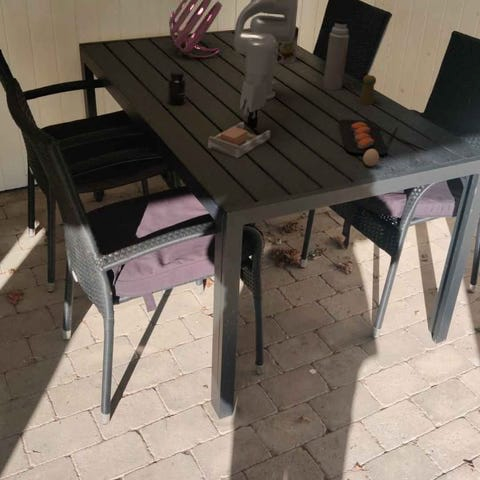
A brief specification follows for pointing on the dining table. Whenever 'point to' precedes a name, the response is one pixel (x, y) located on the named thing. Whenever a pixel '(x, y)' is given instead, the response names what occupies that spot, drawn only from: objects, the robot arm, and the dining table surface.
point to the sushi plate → (365, 137)
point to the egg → (371, 157)
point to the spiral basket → (189, 26)
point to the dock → (242, 147)
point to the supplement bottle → (176, 88)
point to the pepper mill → (367, 90)
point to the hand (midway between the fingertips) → (252, 127)
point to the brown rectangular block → (234, 136)
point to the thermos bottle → (336, 55)
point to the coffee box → (286, 50)
